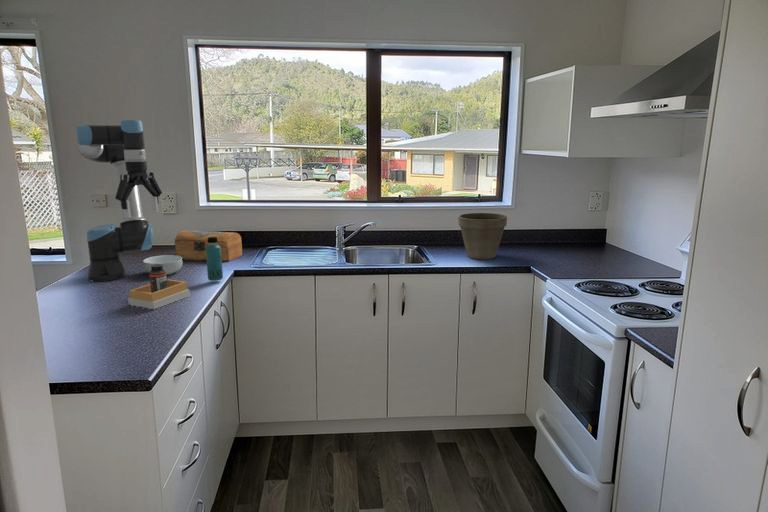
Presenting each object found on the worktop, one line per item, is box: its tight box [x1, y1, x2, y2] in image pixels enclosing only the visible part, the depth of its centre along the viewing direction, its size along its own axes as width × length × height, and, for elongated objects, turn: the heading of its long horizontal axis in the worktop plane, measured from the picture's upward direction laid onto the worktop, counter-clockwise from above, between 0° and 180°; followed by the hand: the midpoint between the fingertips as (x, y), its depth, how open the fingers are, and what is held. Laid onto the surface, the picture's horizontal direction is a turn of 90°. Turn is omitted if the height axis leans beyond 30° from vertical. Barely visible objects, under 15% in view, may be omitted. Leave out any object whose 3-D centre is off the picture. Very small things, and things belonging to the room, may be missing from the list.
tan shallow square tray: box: [127, 278, 191, 309], centre depth 201 cm, size 18×18×6 cm
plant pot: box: [457, 212, 508, 260], centre depth 269 cm, size 25×25×22 cm
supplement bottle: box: [148, 264, 168, 293], centre depth 199 cm, size 6×6×11 cm
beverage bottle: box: [206, 237, 224, 282], centre depth 224 cm, size 6×7×20 cm
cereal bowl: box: [142, 254, 183, 276], centre depth 239 cm, size 17×17×7 cm
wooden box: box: [174, 230, 243, 263], centre depth 269 cm, size 30×16×14 cm, turn 77°
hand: (141, 215), depth 206 cm, fingers open, 13 cm apart
